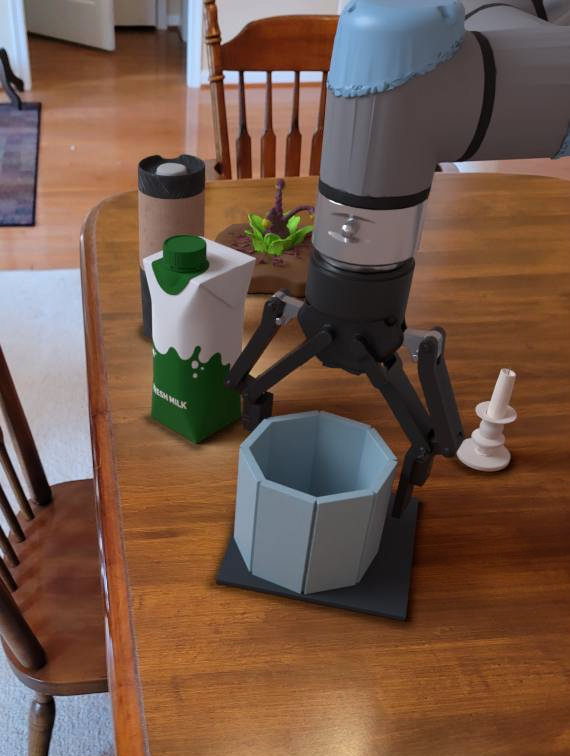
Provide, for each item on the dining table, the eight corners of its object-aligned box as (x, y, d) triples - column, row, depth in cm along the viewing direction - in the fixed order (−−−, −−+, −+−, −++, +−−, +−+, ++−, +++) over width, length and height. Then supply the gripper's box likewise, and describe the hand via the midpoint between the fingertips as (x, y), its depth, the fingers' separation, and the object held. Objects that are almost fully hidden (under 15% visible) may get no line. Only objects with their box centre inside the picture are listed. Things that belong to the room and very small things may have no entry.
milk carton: (138, 417, 91) (132, 236, 77) (196, 386, 95) (200, 210, 82) (196, 451, 86) (201, 265, 72) (254, 416, 91) (269, 235, 77)
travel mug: (173, 351, 101) (174, 181, 87) (128, 330, 105) (122, 165, 91) (214, 328, 105) (220, 163, 92) (169, 309, 109) (169, 147, 95)
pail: (283, 398, 74) (218, 469, 67) (413, 438, 70) (359, 519, 62) (273, 485, 81) (214, 559, 73) (392, 527, 76) (341, 610, 69)
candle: (494, 438, 87) (522, 350, 80) (518, 468, 83) (550, 378, 76) (447, 444, 87) (471, 355, 80) (469, 474, 83) (496, 384, 76)
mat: (417, 501, 80) (418, 497, 79) (404, 621, 69) (406, 617, 68) (253, 473, 83) (254, 469, 83) (215, 583, 72) (215, 579, 72)
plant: (347, 241, 124) (358, 163, 117) (345, 301, 110) (357, 217, 103) (214, 232, 127) (216, 155, 119) (195, 290, 113) (196, 207, 105)
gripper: (185, 233, 62) (184, 461, 76) (528, 314, 52) (452, 558, 67) (233, 201, 67) (223, 421, 81) (555, 269, 57) (479, 506, 71)
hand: (326, 483), depth 74 cm, fingers open, 13 cm apart
